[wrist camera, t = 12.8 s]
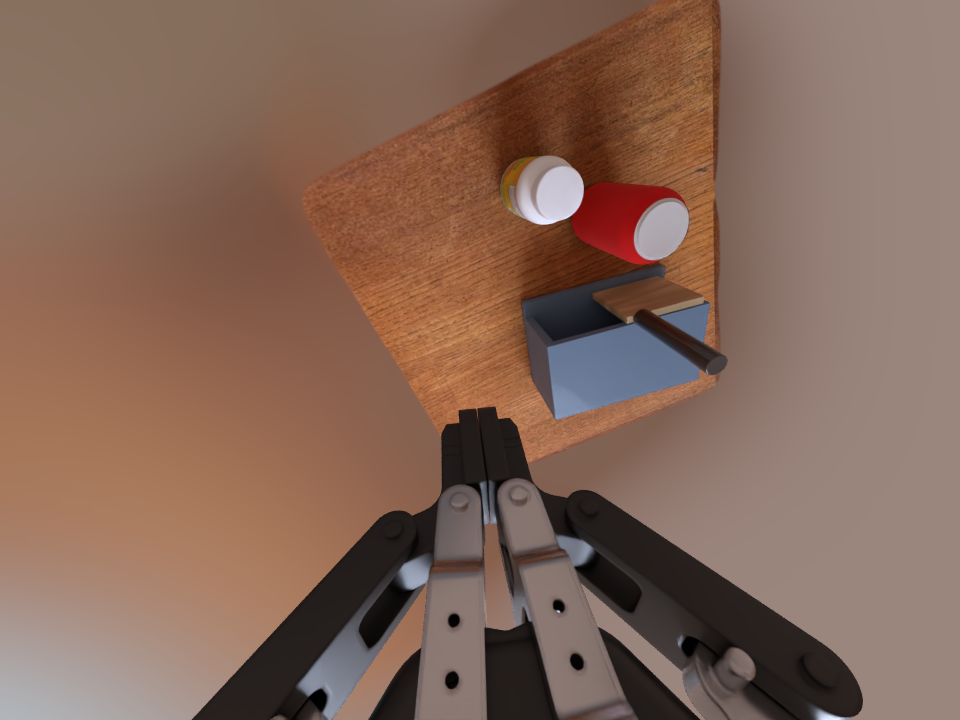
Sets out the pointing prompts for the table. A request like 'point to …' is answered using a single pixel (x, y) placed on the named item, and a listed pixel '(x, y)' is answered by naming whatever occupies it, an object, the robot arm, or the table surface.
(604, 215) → the beverage can
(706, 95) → the table surface
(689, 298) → the brown flat handled piece
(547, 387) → the cabinet
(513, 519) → the robot arm
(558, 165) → the supplement bottle
